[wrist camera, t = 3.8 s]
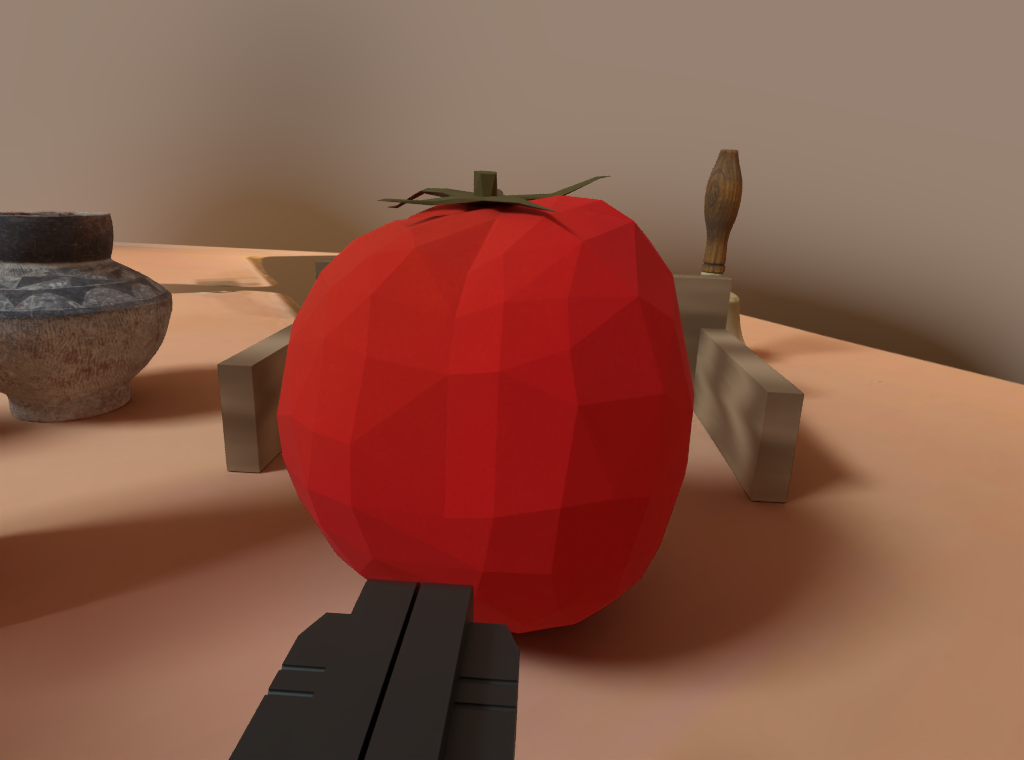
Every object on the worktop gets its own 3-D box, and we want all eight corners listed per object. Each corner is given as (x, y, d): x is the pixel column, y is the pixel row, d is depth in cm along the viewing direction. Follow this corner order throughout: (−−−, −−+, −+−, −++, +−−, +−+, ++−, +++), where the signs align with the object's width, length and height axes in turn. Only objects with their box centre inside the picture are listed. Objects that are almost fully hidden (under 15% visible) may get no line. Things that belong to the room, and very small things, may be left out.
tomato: (756, 603, 22) (823, 182, 18) (459, 849, 14) (472, 158, 10) (496, 477, 31) (506, 175, 27) (215, 579, 22) (173, 158, 18)
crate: (786, 502, 29) (816, 323, 27) (227, 470, 30) (211, 295, 28) (710, 400, 43) (725, 276, 41) (328, 381, 44) (323, 258, 42)
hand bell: (655, 345, 58) (674, 151, 54) (756, 355, 56) (785, 153, 51) (642, 368, 50) (663, 144, 46) (758, 381, 48) (793, 147, 44)
